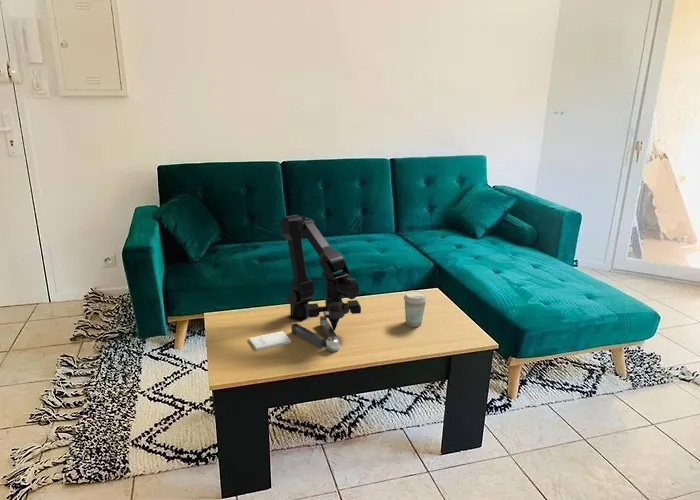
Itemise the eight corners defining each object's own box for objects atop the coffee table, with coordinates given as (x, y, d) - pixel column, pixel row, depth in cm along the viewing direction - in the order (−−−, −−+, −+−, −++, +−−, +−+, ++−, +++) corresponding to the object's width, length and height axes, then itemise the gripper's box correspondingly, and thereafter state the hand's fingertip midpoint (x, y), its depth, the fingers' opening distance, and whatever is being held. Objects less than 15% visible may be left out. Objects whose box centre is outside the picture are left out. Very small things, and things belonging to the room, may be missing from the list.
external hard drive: (290, 344, 183) (256, 352, 178) (282, 334, 190) (248, 341, 185) (290, 340, 183) (256, 347, 177) (282, 330, 190) (248, 337, 184)
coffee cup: (399, 326, 198) (401, 296, 194) (405, 317, 205) (407, 288, 201) (421, 330, 195) (423, 300, 191) (427, 321, 202) (429, 292, 198)
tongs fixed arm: (325, 346, 181) (325, 338, 180) (321, 348, 180) (321, 340, 179) (295, 330, 192) (295, 322, 191) (291, 332, 191) (291, 324, 190)
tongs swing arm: (341, 350, 178) (341, 341, 177) (328, 352, 177) (328, 343, 176) (325, 323, 197) (325, 315, 196) (312, 324, 196) (312, 316, 195)
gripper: (309, 301, 176) (310, 343, 181) (364, 297, 179) (364, 338, 184) (305, 288, 186) (307, 328, 191) (357, 284, 189) (357, 324, 194)
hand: (333, 330), depth 190 cm, fingers closed
